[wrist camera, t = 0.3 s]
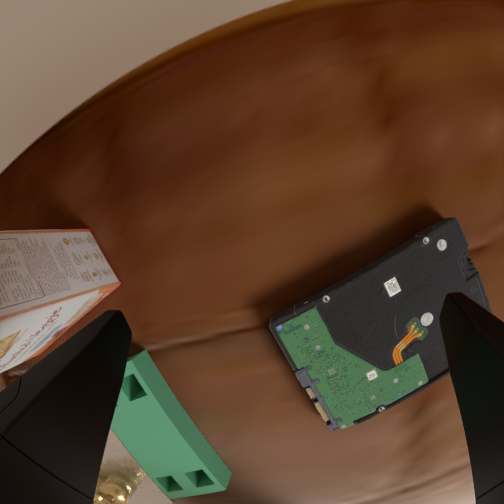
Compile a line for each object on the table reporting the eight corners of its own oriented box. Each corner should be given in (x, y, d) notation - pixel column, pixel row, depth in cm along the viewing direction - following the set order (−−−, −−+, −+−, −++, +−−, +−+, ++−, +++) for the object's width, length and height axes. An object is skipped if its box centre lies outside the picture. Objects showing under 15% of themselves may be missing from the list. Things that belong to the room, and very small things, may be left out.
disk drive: (439, 215, 21) (268, 315, 23) (455, 212, 18) (264, 326, 20) (484, 328, 20) (330, 420, 23) (501, 337, 18) (333, 439, 20)
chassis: (176, 497, 25) (158, 531, 20) (107, 502, 27) (87, 527, 22) (75, 359, 26) (38, 379, 20) (23, 386, 28) (-8, 403, 22)
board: (232, 472, 24) (226, 490, 21) (178, 483, 25) (169, 499, 22) (145, 349, 24) (131, 360, 22) (96, 372, 25) (81, 382, 23)
